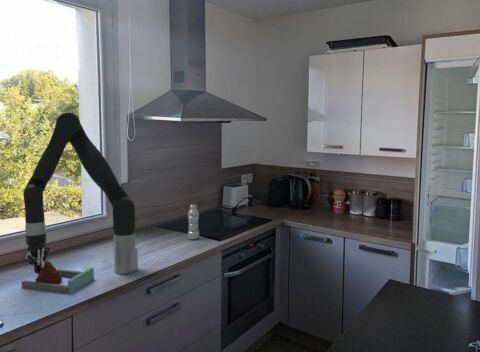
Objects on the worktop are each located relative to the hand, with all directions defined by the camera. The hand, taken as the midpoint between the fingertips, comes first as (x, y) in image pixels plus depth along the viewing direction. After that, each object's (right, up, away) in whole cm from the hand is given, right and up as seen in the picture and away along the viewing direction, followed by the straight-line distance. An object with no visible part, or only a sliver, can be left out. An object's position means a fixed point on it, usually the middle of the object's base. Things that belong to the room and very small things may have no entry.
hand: (38, 272), depth 171 cm
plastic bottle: (+58, +4, +63) cm, 85 cm away
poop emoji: (+5, -4, -1) cm, 6 cm away
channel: (+9, -4, -2) cm, 10 cm away
